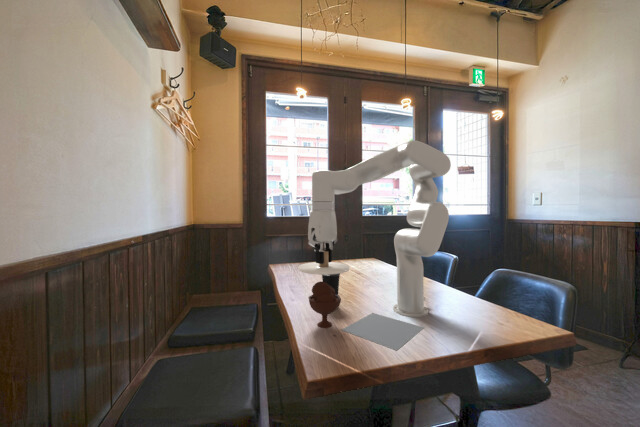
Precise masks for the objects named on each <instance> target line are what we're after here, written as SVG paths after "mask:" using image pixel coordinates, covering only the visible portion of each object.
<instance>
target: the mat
mask: <svg viewBox="0 0 640 427" xmlns="http://www.w3.org/2000/svg"><path fill="white" fill-rule="evenodd" d="M423 329H425V327H424V326H420V325H418V324H413V323H411V322H410V323H409V322H408V321H407V322H406V321H403V320H400V319H395V318H392V317H388V316H385V315H382V314H378V313H375V312H372V313H370V314H368V315H366V316H364V317H362V318H360V319H359V320H357V321H354V322H353V323H351V324H349V325H347V326H345V327H344V328H342V329H341V331H343V332H345V333H348V334H351V335H354V336H356V337H358V338H361V339H365V340H367V341H369V342H372V343H375V344H378V345H381V346H383V347H386V348H389V349H391V350H395V351H398V350H400V349H401V348H402V347H403V346H404V345H406V344H407V343H408V342H409V341H410V340H411V339H413V338H414V337H415V336H416V335H417V334H418V333H420V332H421V331H423Z"/></svg>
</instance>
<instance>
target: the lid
mask: <svg viewBox="0 0 640 427" xmlns="http://www.w3.org/2000/svg"><path fill="white" fill-rule="evenodd" d="M322 251H323V252H324V263H323V264H319V263H316V261H313V262H307V263H302V264H300V265H298V267H297V268H298V271H299V272H301V273H304V274H309V275H321V276H322V275H328V274H339V273H340V274H343V273H346V272H349V271H350V265H348V264H346V263H342V262H333V261H332V262H329V251H324V250H322Z"/></svg>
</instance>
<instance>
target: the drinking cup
mask: <svg viewBox="0 0 640 427" xmlns="http://www.w3.org/2000/svg"><path fill="white" fill-rule="evenodd" d="M340 276H341V273H339V274H328V275H321V280H322V282H326V283H327V284H328V285H330V286H331V287H333V288H334V289H335V294H336V295H339V287H340V286H339V285H340Z"/></svg>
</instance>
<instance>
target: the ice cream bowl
mask: <svg viewBox="0 0 640 427" xmlns="http://www.w3.org/2000/svg"><path fill="white" fill-rule="evenodd" d="M311 293H312V294H311V295H309V296H308V297H307V298H308V303H309V306H310V308H311V309H312V310H313V311H314V312H315V313H317V314H319V315H321V316H322V317H321V320H320V321H318V323H317V324H316V326H317V327H318V328H320V329H328V328H331V327H332V326H334V325H333V323H332V322H330V321H329V320H328V315H330V314H332V313H334V312H335V311H336V310H337V309H338V308H339V307H340V305H341V302H342V298H341V296H340V295H339V294H338V295H336V294H335V289H334V288H333V287H331V286H330V285H328V284H327V283H326V282H323V281H317V282H316V283H314V284H313V285H312V288H311Z"/></svg>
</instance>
